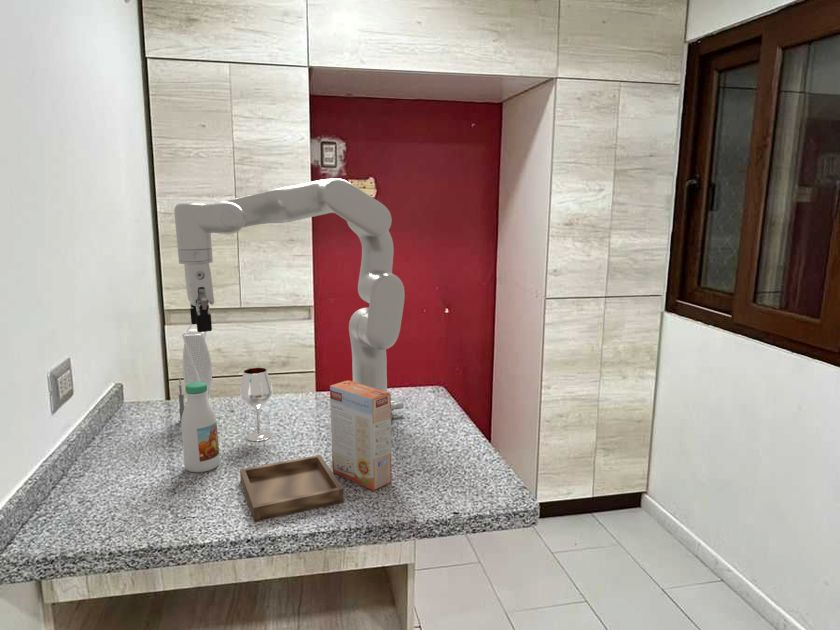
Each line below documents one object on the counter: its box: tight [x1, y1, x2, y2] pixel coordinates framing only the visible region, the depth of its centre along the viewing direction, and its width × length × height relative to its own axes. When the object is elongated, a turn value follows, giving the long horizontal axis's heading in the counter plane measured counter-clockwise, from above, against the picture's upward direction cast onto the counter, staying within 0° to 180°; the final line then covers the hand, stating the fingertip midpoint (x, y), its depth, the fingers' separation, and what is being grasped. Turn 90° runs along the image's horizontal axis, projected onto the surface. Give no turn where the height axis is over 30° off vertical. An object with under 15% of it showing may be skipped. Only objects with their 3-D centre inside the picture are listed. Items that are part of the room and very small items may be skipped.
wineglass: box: [239, 367, 274, 442], centre depth 153 cm, size 8×8×18 cm
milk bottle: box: [180, 382, 221, 473], centre depth 136 cm, size 8×8×20 cm
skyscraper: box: [178, 323, 213, 423], centre depth 164 cm, size 8×8×28 cm
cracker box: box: [329, 380, 393, 492], centre depth 130 cm, size 14×6×21 cm, turn 47°
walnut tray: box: [239, 454, 345, 523], centre depth 126 cm, size 18×18×3 cm
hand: (201, 327), depth 142 cm, fingers open, 9 cm apart
